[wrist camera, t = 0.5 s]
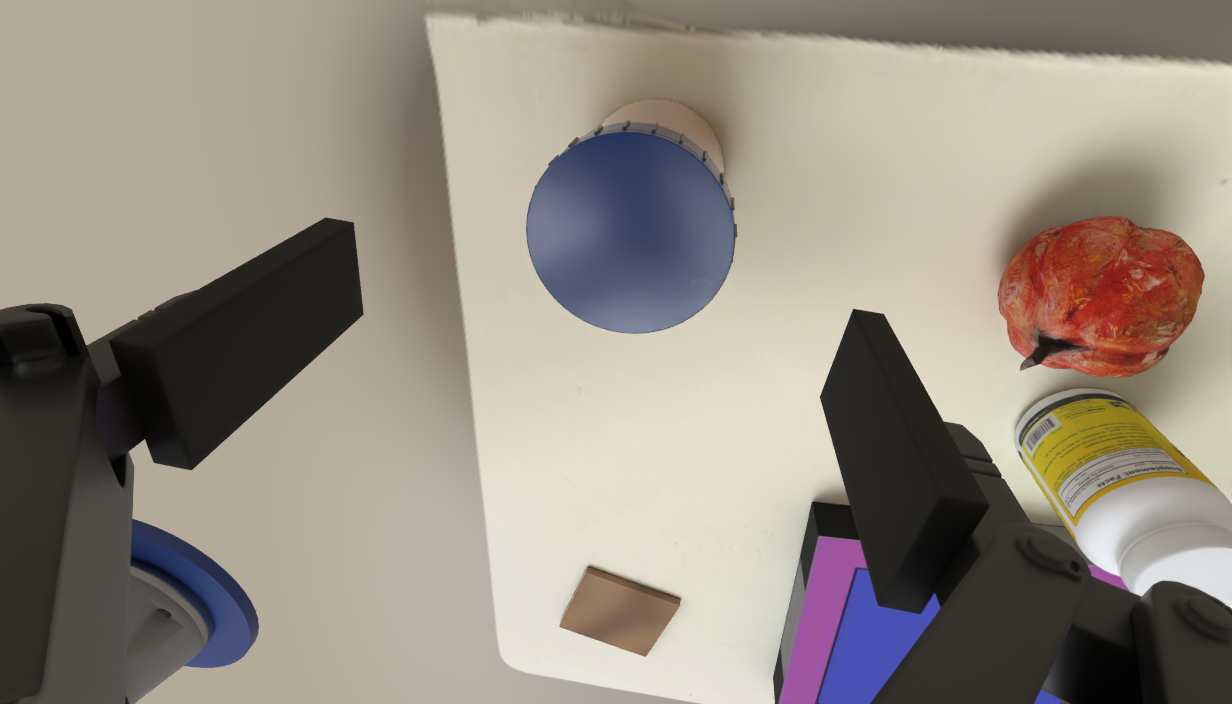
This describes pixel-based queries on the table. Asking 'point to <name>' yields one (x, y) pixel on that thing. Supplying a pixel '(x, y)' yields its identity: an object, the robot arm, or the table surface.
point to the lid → (632, 228)
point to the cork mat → (618, 612)
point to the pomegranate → (1100, 296)
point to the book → (852, 618)
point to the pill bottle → (1128, 492)
